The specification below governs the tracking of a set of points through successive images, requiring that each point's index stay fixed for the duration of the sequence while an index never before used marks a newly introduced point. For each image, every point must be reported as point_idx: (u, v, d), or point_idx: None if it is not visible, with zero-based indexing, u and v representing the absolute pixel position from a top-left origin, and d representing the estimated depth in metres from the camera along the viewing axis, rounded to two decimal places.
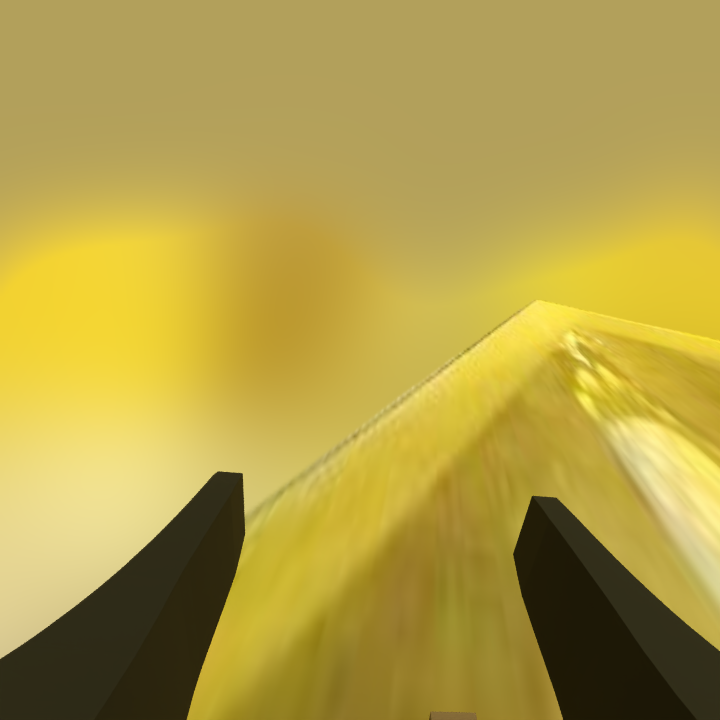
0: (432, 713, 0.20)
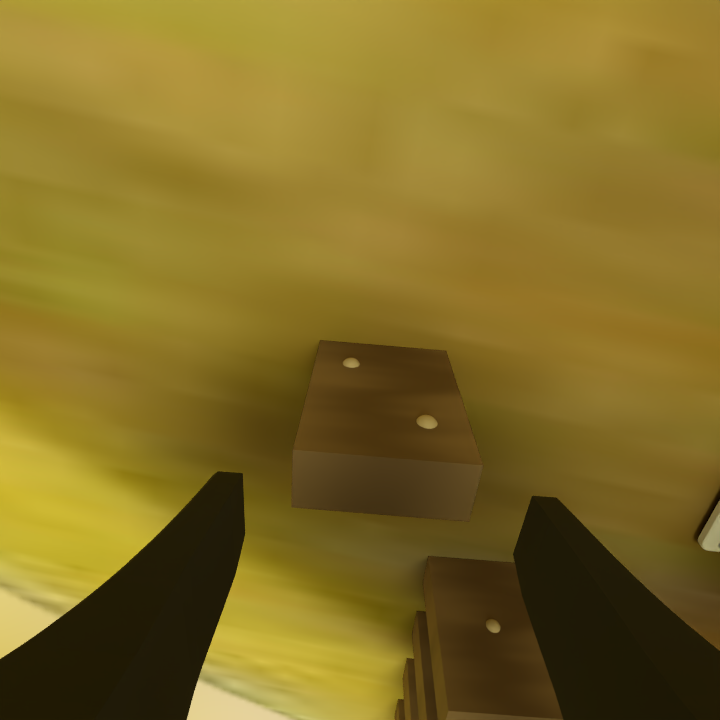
0: (294, 505, 0.13)
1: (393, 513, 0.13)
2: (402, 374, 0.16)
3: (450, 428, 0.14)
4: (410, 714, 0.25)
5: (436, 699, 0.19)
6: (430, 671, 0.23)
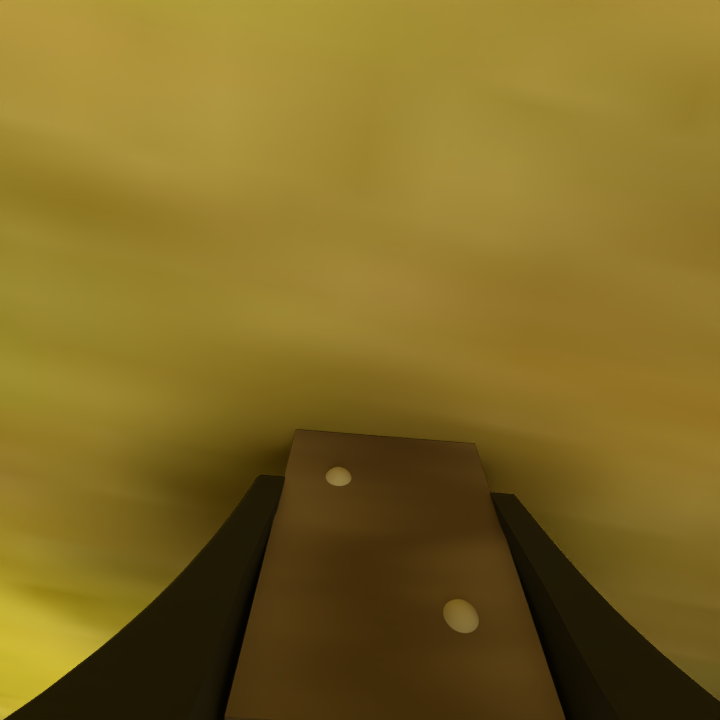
0: None
1: None
2: (414, 497, 0.11)
3: (501, 630, 0.08)
4: None
5: None
6: None
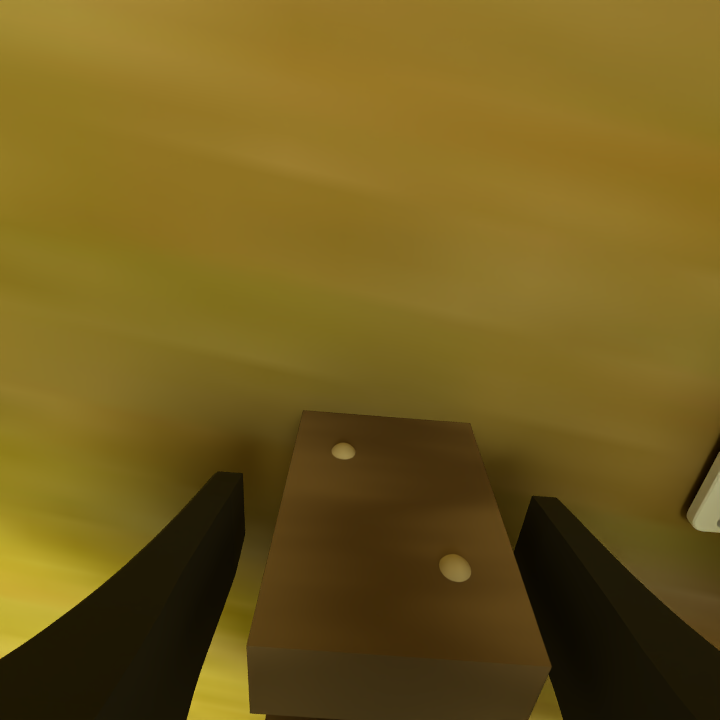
0: (253, 710, 0.08)
1: None
2: (413, 469, 0.12)
3: (491, 580, 0.09)
4: None
5: None
6: None
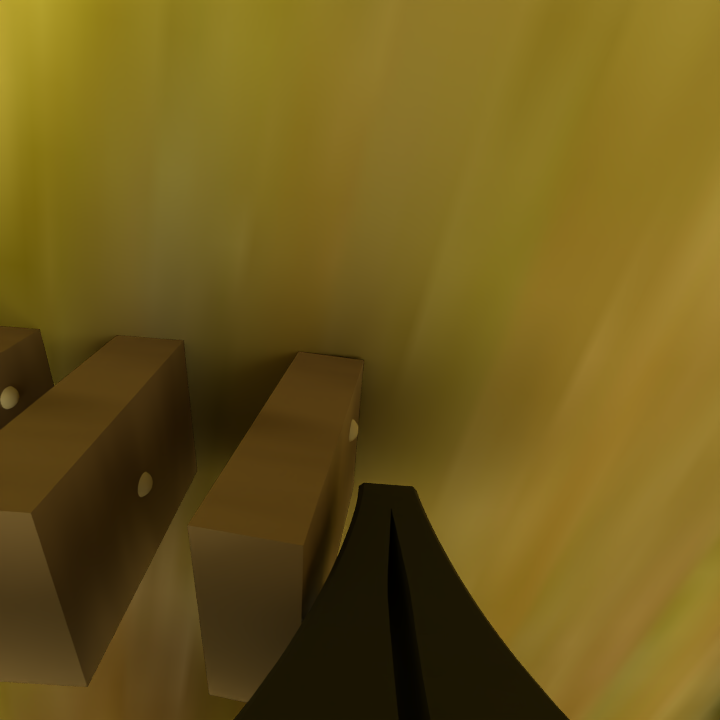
0: (192, 528, 0.08)
1: (205, 633, 0.09)
2: (343, 493, 0.13)
3: None
4: None
5: None
6: None
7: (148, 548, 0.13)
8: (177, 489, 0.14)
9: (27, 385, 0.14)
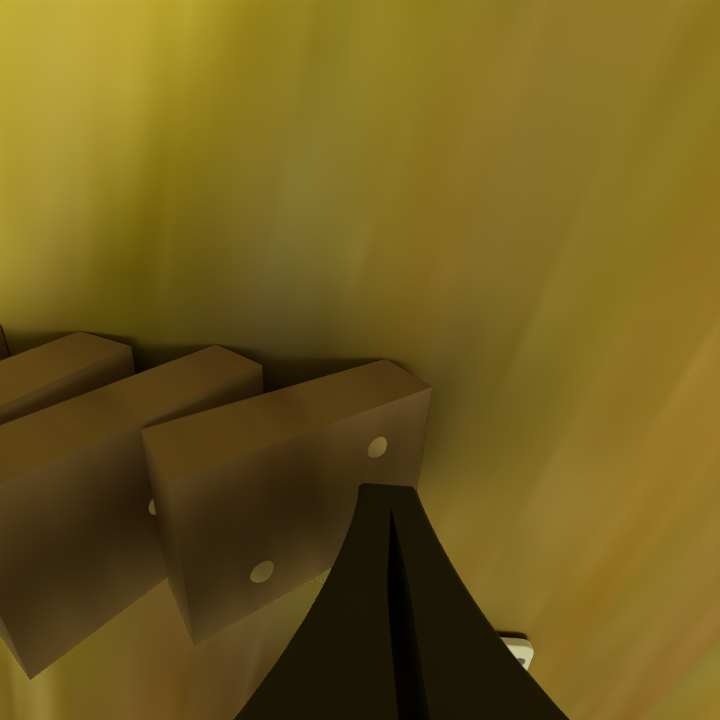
0: (142, 433, 0.10)
1: (158, 527, 0.11)
2: None
3: (254, 594, 0.12)
4: None
5: None
6: (25, 410, 0.11)
7: (160, 565, 0.12)
8: None
9: None
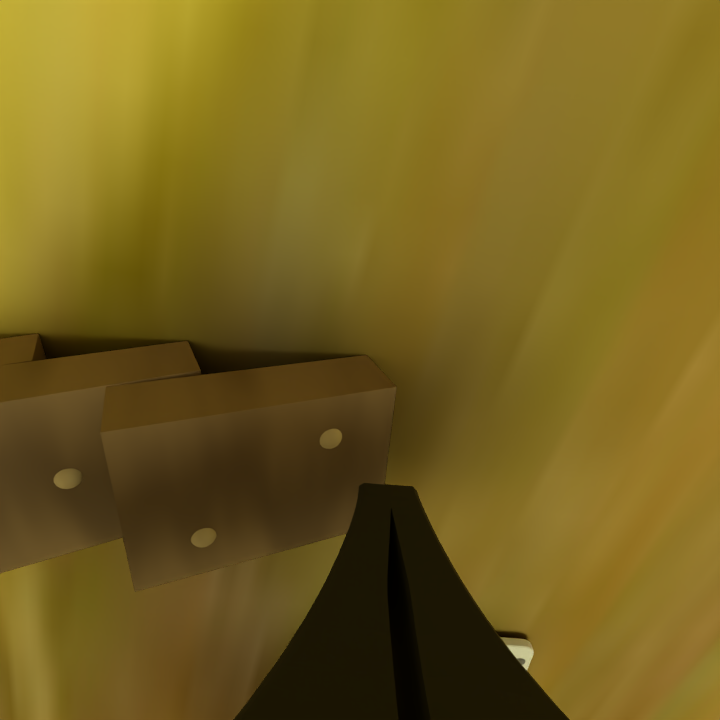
0: (106, 390, 0.11)
1: None
2: (310, 495, 0.13)
3: (196, 558, 0.12)
4: None
5: None
6: None
7: (71, 537, 0.13)
8: None
9: None
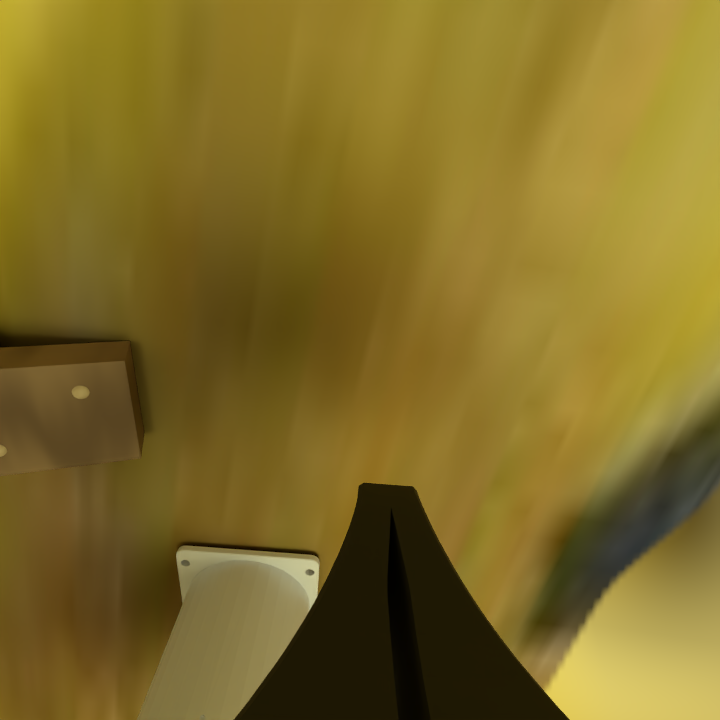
0: None
1: None
2: (75, 430, 0.20)
3: None
4: None
5: None
6: None
7: None
8: None
9: None
